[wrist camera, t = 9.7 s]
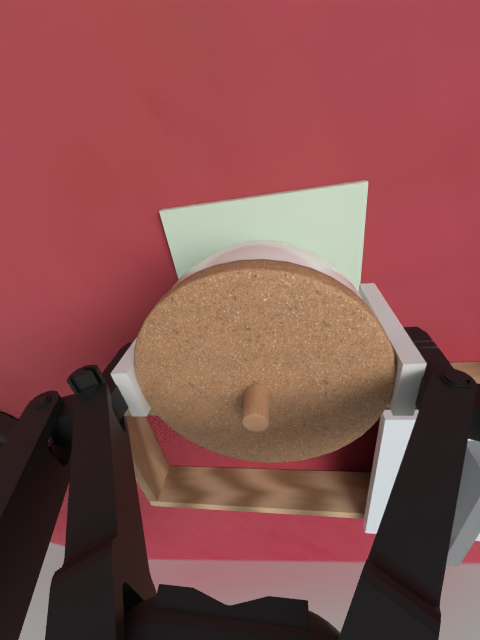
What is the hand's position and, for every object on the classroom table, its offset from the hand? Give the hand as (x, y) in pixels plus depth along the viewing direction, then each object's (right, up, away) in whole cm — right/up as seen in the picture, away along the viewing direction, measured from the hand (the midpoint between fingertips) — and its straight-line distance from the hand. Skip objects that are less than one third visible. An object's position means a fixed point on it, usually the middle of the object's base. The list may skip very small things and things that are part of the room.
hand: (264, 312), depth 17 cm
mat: (0, +2, +3) cm, 3 cm away
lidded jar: (0, +1, +1) cm, 2 cm away
